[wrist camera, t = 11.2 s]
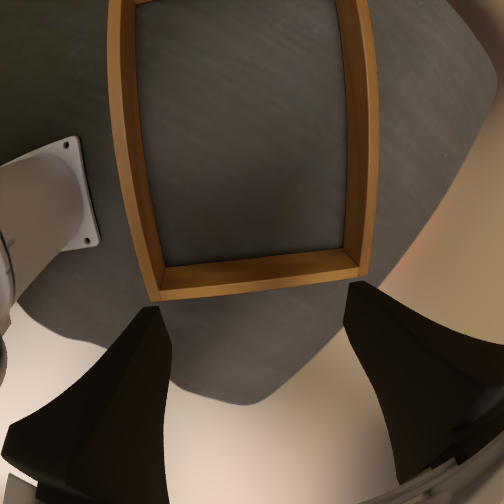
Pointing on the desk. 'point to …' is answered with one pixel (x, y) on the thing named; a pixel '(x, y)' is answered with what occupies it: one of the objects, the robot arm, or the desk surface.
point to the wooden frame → (264, 268)
